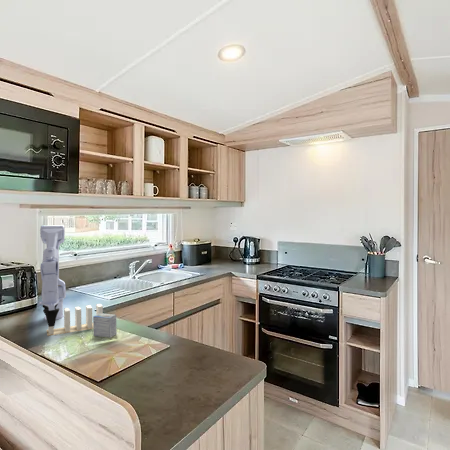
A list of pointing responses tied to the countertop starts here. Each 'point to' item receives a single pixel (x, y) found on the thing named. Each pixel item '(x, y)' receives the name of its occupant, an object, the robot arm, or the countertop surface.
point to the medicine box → (104, 325)
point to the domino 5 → (99, 309)
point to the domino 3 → (78, 318)
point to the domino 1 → (51, 330)
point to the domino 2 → (66, 319)
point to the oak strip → (72, 329)
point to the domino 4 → (89, 316)
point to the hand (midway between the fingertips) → (50, 323)
